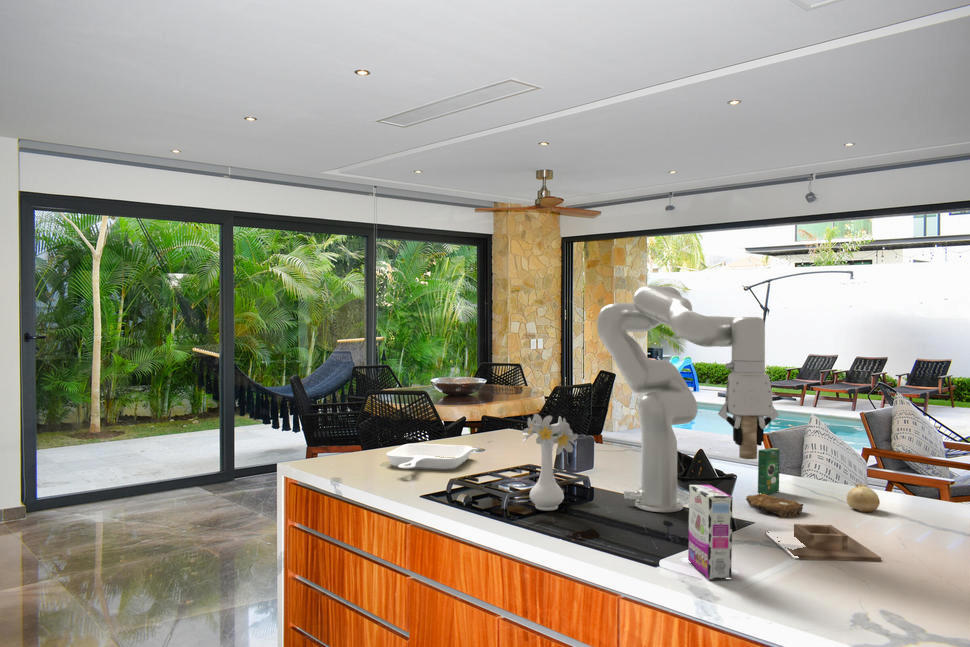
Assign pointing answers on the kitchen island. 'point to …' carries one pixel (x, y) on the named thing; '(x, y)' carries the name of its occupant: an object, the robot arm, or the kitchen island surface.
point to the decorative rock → (775, 505)
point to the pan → (429, 456)
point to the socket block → (829, 544)
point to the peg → (748, 437)
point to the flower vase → (548, 458)
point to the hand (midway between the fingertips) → (748, 443)
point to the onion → (862, 498)
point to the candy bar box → (710, 531)
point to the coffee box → (768, 470)
